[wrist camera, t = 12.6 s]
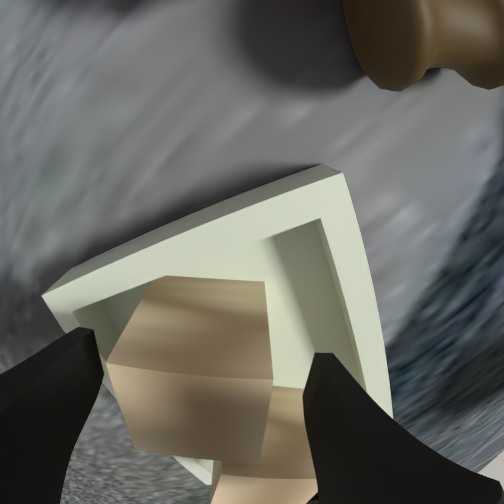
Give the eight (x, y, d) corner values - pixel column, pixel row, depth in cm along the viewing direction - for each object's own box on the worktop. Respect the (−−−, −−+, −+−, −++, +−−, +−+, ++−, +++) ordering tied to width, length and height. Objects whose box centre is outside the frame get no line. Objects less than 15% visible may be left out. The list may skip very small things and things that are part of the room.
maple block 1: (164, 356, 13) (135, 449, 8) (156, 274, 11) (105, 363, 6) (256, 363, 13) (259, 462, 8) (264, 281, 11) (273, 379, 7)
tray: (71, 268, 12) (41, 295, 9) (322, 163, 10) (342, 172, 8) (209, 453, 16) (206, 484, 14) (382, 408, 15) (394, 440, 13)
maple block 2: (216, 427, 14) (209, 507, 10) (227, 379, 13) (221, 474, 8) (288, 435, 15) (296, 511, 10) (312, 389, 13) (330, 478, 9)
